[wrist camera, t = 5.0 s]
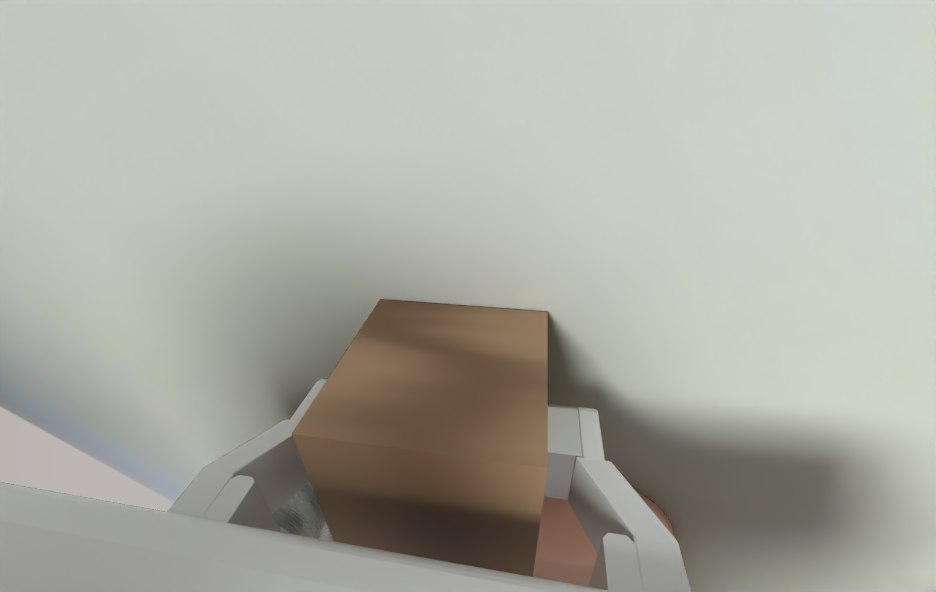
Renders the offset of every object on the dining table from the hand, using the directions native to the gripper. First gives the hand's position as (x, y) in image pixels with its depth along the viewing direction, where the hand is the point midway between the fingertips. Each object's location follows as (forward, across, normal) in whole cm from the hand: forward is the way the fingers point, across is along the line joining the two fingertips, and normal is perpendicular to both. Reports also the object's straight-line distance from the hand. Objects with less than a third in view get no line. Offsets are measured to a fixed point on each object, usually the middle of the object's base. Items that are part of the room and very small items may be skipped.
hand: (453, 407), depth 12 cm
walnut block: (+2, 0, 0) cm, 2 cm away
